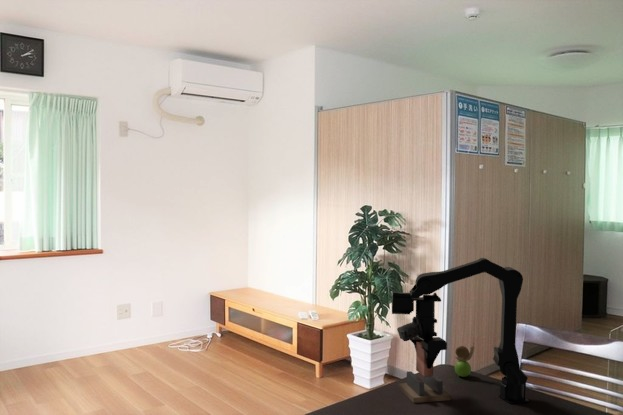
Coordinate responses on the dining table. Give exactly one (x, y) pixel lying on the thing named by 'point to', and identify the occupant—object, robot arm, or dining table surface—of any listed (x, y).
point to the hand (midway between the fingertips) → (424, 365)
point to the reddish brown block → (422, 361)
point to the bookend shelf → (424, 389)
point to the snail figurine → (463, 360)
